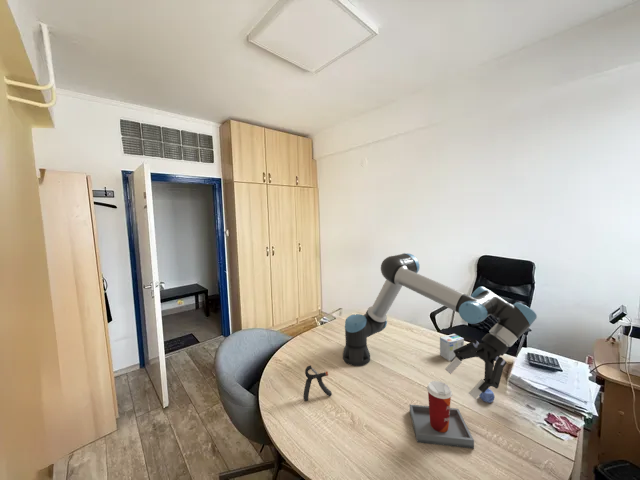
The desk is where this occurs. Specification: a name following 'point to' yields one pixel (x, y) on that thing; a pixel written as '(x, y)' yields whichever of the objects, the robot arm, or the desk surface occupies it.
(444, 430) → the coffee cup
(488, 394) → the decorative dice
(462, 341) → the light bulb box
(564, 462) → the desk surface
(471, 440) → the tray
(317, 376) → the hand grip strengthener
